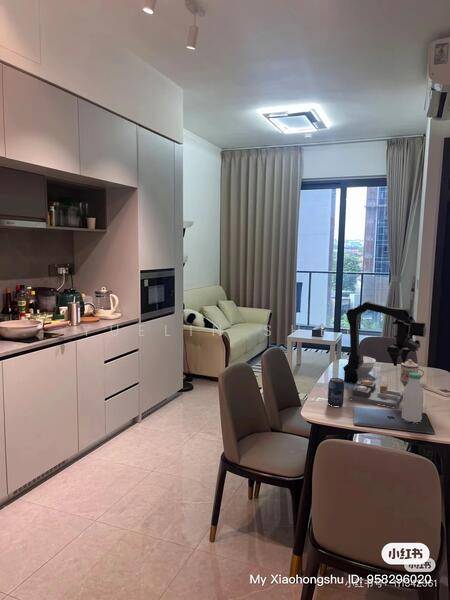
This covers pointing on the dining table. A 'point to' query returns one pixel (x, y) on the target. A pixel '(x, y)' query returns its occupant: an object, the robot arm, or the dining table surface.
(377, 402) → the control panel
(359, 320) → the robot arm
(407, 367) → the teacup with lid
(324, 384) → the dining table surface
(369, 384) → the button terracotta
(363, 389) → the button grey
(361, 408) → the dining table surface
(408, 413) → the milk bottle
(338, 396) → the soda can
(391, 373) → the dining table surface
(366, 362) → the bowl
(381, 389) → the upright wooden block
